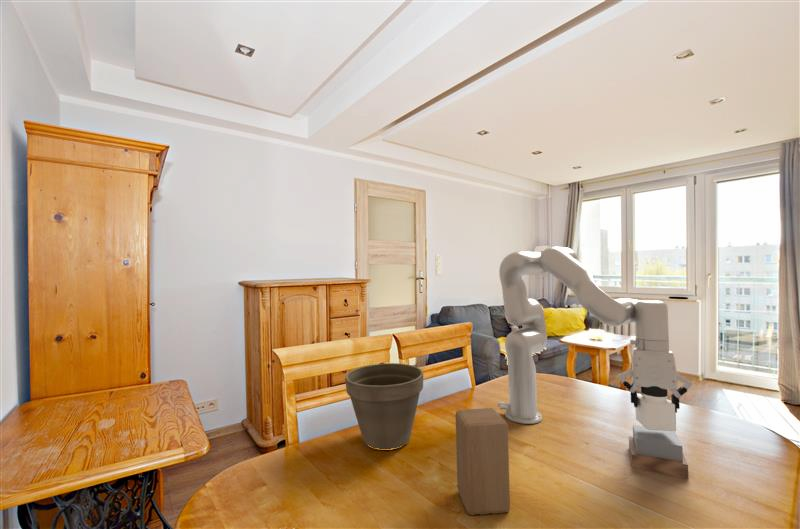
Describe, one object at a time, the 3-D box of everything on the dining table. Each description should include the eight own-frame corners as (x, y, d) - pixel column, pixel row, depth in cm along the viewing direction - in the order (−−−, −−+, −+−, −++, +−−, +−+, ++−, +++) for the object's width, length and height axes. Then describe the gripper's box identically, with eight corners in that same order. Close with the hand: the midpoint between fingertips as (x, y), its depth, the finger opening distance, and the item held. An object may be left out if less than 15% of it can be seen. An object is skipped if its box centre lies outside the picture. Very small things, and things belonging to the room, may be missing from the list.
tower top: (636, 453, 99) (636, 438, 99) (633, 438, 108) (632, 424, 108) (682, 461, 94) (682, 446, 95) (675, 445, 103) (674, 430, 103)
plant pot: (358, 468, 102) (356, 389, 102) (339, 432, 125) (337, 368, 125) (438, 450, 111) (436, 377, 111) (407, 419, 134) (405, 359, 134)
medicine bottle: (676, 431, 97) (675, 386, 98) (646, 430, 99) (645, 385, 99) (663, 420, 104) (661, 378, 105) (635, 419, 106) (633, 377, 106)
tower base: (632, 469, 99) (631, 454, 99) (629, 449, 109) (628, 436, 109) (688, 480, 93) (688, 464, 93) (679, 458, 104) (678, 444, 104)
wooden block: (456, 490, 90) (454, 408, 91) (496, 487, 91) (494, 406, 92) (467, 517, 80) (464, 425, 81) (511, 514, 81) (509, 422, 82)
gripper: (616, 345, 103) (618, 408, 103) (695, 350, 95) (697, 418, 94) (615, 340, 109) (617, 399, 109) (688, 344, 101) (690, 408, 101)
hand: (654, 408), depth 102 cm, fingers closed on medicine bottle, 8 cm apart
